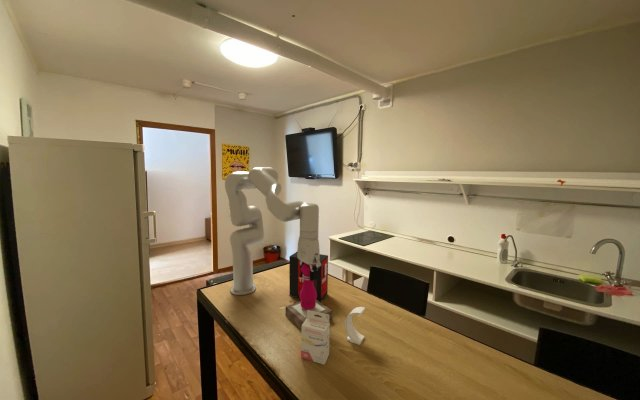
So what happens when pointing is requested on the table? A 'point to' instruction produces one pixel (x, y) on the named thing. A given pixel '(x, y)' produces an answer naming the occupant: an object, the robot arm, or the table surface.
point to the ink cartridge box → (315, 337)
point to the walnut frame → (305, 312)
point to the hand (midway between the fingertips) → (308, 276)
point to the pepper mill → (307, 289)
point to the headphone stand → (350, 330)
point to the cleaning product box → (298, 281)
